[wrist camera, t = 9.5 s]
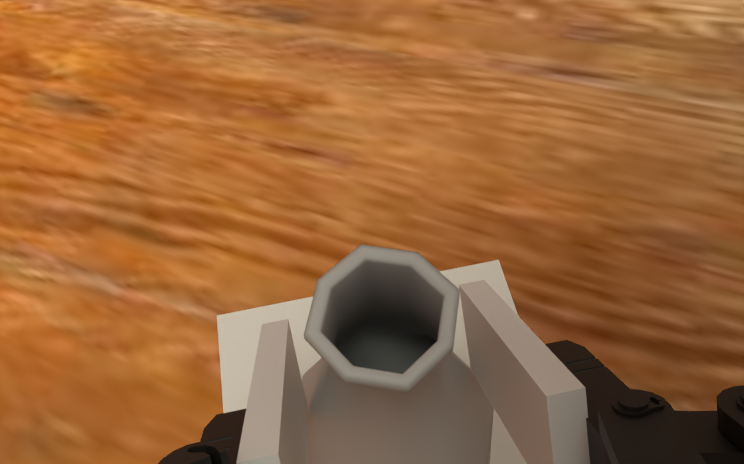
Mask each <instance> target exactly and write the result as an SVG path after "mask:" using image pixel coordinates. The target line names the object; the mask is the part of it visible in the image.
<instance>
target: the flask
mask: <svg viewBox="0 0 744 464" xmlns="http://www.w3.org/2000/svg"><path fill="white" fill-rule="evenodd" d="M459 296H460V289H458V288H457V287H456V286H455V285H454V284H453V283H452V282H451V281H449V280H448V279H447V278H446V277H445V276H444V275H443V274H442V273H440V272H439V271H438V270H437V269H436V268H435V267H434V266H432V265H431V264H430V263H429V262H428V261H427V260H426V259H425V258H423V257H422V256H421V255H420V254H419V253H418V252H412V251H405V250H398V249H391V248H383V247H376V246H369V245H362V244H361V245H360V246H358V247H357V248H356V249H355V250H354V251H352V252H351V253H350V254H349V255H347V256H346V257H345V258H344V259H343V260H341V261H340V262H339V263H338V264H336V265H335V266H334V267H333V268H332V269H330V270H329V271H328V272H327V273H325V274H324V275H323V276H322V277H321V278H319V279H318V280H317V284H316V288H315V292H314V296H313V300H312V304H311V308H310V312H309V315H308V319H307V323H306V327H305V331H304V339H305V340H306V341H307V342H308V343H309V344H310V345H311V347H312V348H313V349H314V350H315V351H316V352H317V353H318V354H319V355H320V356H321V359H320V360H319V361H318V362H317V363H315V364H314V365H313V366H312V367H311V368H310V369H309V370H308V371H306V373H305V374H304V375H303V378H302V384H303V388H304V393H305V397H306V402H307V464H490V451H491V438H492V426H493V413H494V407H493V406H492V404H491V402H490V401H489V399H488V397H487V395H486V394H485V392H484V390H483V389H482V387H481V385H480V384H479V382H478V380H477V379H476V377H475V375H474V373H473V372H472V370H471V368H470V367H469V366H468V365H467V364H466V363H465V362H463V361H462V360H461V359H460V358H459V357H458V356H457V355H456V354H455V353H454V352H453V346H454V338H455V330H456V321H457V313H458V304H459Z"/></svg>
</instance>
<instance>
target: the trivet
mask: <svg viewBox="0 0 744 464" xmlns="http://www.w3.org/2000/svg"><path fill="white" fill-rule="evenodd" d="M440 273H442V274H443V275H444V276H445V277H446V278H447V279H448V280H449V281H451V282H452V283H453V284H454V285H455V286H456V287H457V288H458V289H459V285H460V284H465V283H470V282H475V281H480V280H485V281H486V282H487V283H488V284H489V285H490V287H491V288H492V289H493V290H494V291H495V292H496V293H497V294H498V295H499V296H500V297H501V298H502V299H503V300H504V301H505V303H506V304H507V305H508V306H509V307H510V308H511V309H512V310H513V311H514V312H515V313H516V314H517V315H518V313H517V311H516V308H515V305H514V302H513V299H512V296H511V294H510V291H509V288H508V285H507V282H506V279H505V277H504V274H503V271H502V268H501V265H500V262H499V260H495V261H490V262H485V263H480V264H475V265H470V266H465V267H460V268H455V269H450V270H445V271H440ZM312 300H313V297H308V298H303V299H298V300H293V301H288V302H283V303H278V304H273V305H268V306H263V307H258V308H253V309H248V310H243V311H238V312H233V313H228V314H223V315H217V325H218V340H219V354H220V369H221V383H222V398H223V412H224V413H227V412H232V411H237V410H242V409H246V408H247V402H248V397H249V392H250V386H251V381H252V375H253V370H254V365H255V359H256V354H257V348H258V343H259V338H260V332H261V327H262V324H265V323H270V322H275V321H280V320H285V319H288V320H289V325H290V329H291V334H292V338H293V343H294V347H295V352H296V356H297V361H298V365H299V370H300V375H301V379H302V378H303V375H304V374H305V373H306V371H308V370H309V369H310V368H311V367H312V366H313V365H314V364H315V363H317V362H318V361H319V360H320V359H321V356H320V355H319V354H318V353H317V352H316V351H315V350H314V349H313V348H312V347H311V345H310V344H309V343H308V342H307V341H306V340H305V339H304V331H305V327H306V323H307V319H308V315H309V312H310V308H311V304H312ZM453 352H454V353H455V354H456V355H457V356H458V357H459V358H460V359H461V360H462V361H463V362H465V363H466V364H467V365H468V366H469V367H470V360H469V353H468V346H467V339H466V332H465V325H464V318H463V311H462V304H461V296H459V304H458V313H457V321H456V330H455V338H454V346H453ZM470 368H471V367H470ZM490 464H527V463H526V462H525V460H524V458H523V456H522V455H521V453H520V451H519V450H518V448H517V446H516V445H515V443H514V441H513V440H512V438H511V436H510V434H509V433H508V431H507V429H506V428H505V426H504V424H503V423H502V421H501V419H500V417H499V416H498V414H497V412H496V411H495V409H494V413H493V426H492V438H491V451H490Z"/></svg>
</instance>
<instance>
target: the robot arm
mask: <svg viewBox="0 0 744 464" xmlns="http://www.w3.org/2000/svg"><path fill="white" fill-rule="evenodd" d="M459 289H460V296H461V304H462V311H463V318H464V325H465V332H466V339H467V346H468V353H469V360H470V367H471V370H472V372H473V373H474V375H475V377H476V379H477V380H478V382H479V384H480V385H481V387H482V389H483V390H484V392H485V394H486V395H487V397H488V399H489V401H490V402H491V404H492V406H493V407H494V409H495V411H496V412H497V414H498V416H499V417H500V419H501V421H502V423H503V424H504V426H505V428H506V429H507V431H508V433H509V434H510V436H511V438H512V440H513V441H514V443H515V445H516V446H517V448H518V450H519V451H520V453H521V455H522V456H523V458H524V460H525V462H526V463H527V464H744V386H735V387H731V388H728V389H725V390H723V391H722V392H721V393H720V394H719V395H718V396H717V411H674V410H673V408H672V407H671V405H670V404H669V403H668V402H667V401H666V400H665V399H664V398H662V397H660V396H658V395H656V394H654V393H651V392H647V391H642V390H630V389H629V388H628V387H627V386H626V385H625V384H624V383H623V382H622V381H621V380H620V379H618V378H617V377H616V376H615V375H614V374H613V373H612V372H611V371H610V370H609V369H608V368H607V367H604V365H603V364H602V363H601V362H600V361H599V360H598V359H595V356H594V355H592V354H591V353H590V352H589V351H588V350H587V349H586V348H585V347H583V346H581V345H578V344H576V343H573V342H571V341H568V340H564V341H559V342H554V343H550V344H544V343H543V342H542V341H541V340H540V339H539V338H538V337H537V336H536V334H535V333H534V332H533V331H532V330H531V329H530V328H529V327H528V326H527V325H526V324H525V323H524V322H523V321H522V320H521V319H520V317H519V316H518V315H517V314H516V313H515V312H514V311H513V310H512V309H511V308H510V307H509V306H508V305H507V304H506V303H505V301H504V300H503V299H502V298H501V297H500V296H499V295H498V294H497V293H496V292H495V291H494V290H493V289H492V288H491V287H490V285H489V284H488V283H487V282H486V281H485V280H480V281H475V282H470V283H465V284H460V285H459ZM158 464H307V402H306V397H305V393H304V388H303V384H302V379H301V375H300V370H299V365H298V361H297V356H296V352H295V347H294V343H293V338H292V334H291V329H290V325H289V320H288V319H285V320H280V321H275V322H270V323H265V324H262V327H261V332H260V338H259V343H258V348H257V354H256V359H255V365H254V370H253V375H252V381H251V386H250V392H249V397H248V402H247V408H246V409H242V410H237V411H232V412H227V413H223V414H218V415H216V416H215V417H214V418H213V419H212V420H211V422H210V423H209V424H208V425H207V426H206V427H205V428H204V431H203V434H202V438H201V441H200V442H198V443H193V444H189V445H186V446H184V447H182V448H179V449H177V450H175V451H173V452H172V453H170V454H169V455H167V456H166V457H164V458H163V459H162V460H161V461H160V462H159V463H158Z"/></svg>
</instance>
